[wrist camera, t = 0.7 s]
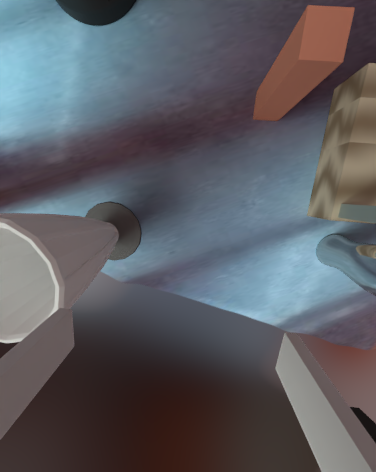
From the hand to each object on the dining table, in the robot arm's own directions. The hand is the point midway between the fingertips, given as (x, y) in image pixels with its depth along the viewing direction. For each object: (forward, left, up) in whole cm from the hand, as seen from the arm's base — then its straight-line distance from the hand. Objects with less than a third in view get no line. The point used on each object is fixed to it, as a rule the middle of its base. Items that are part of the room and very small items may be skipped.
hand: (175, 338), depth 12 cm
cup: (-1, -15, -25) cm, 29 cm away
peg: (-24, +11, -25) cm, 36 cm away
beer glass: (-1, +27, -25) cm, 37 cm away
